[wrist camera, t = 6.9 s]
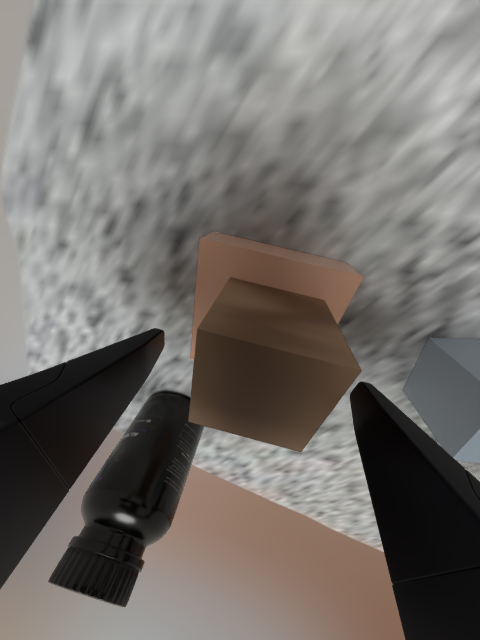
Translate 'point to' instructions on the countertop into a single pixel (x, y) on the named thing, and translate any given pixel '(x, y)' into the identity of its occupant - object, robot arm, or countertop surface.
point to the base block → (269, 274)
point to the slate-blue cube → (449, 394)
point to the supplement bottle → (131, 501)
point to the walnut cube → (269, 365)
